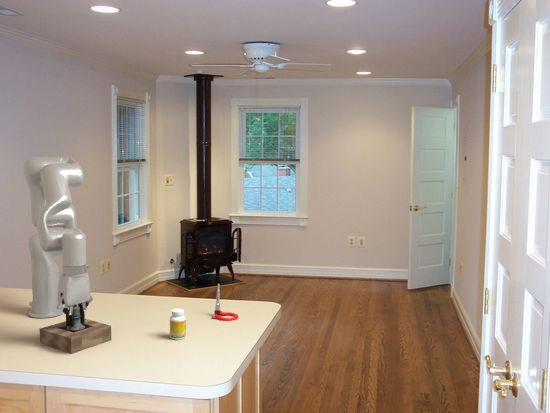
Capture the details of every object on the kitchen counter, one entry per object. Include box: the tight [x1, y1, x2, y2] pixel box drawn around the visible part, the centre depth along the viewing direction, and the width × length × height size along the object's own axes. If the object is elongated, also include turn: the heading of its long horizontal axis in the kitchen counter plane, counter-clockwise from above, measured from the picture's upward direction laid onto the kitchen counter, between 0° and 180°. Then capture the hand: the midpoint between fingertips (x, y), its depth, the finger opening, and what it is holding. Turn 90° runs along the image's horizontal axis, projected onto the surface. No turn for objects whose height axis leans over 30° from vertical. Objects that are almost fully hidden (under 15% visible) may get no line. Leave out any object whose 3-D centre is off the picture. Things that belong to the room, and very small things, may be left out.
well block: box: [39, 318, 112, 355], centre depth 198 cm, size 16×16×5 cm
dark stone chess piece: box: [66, 305, 85, 333], centre depth 198 cm, size 6×6×12 cm
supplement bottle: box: [169, 308, 187, 341], centre depth 204 cm, size 5×5×10 cm
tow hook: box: [211, 283, 240, 322], centre depth 227 cm, size 8×13×9 cm
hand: (75, 323), depth 198 cm, fingers closed on dark stone chess piece, 3 cm apart
